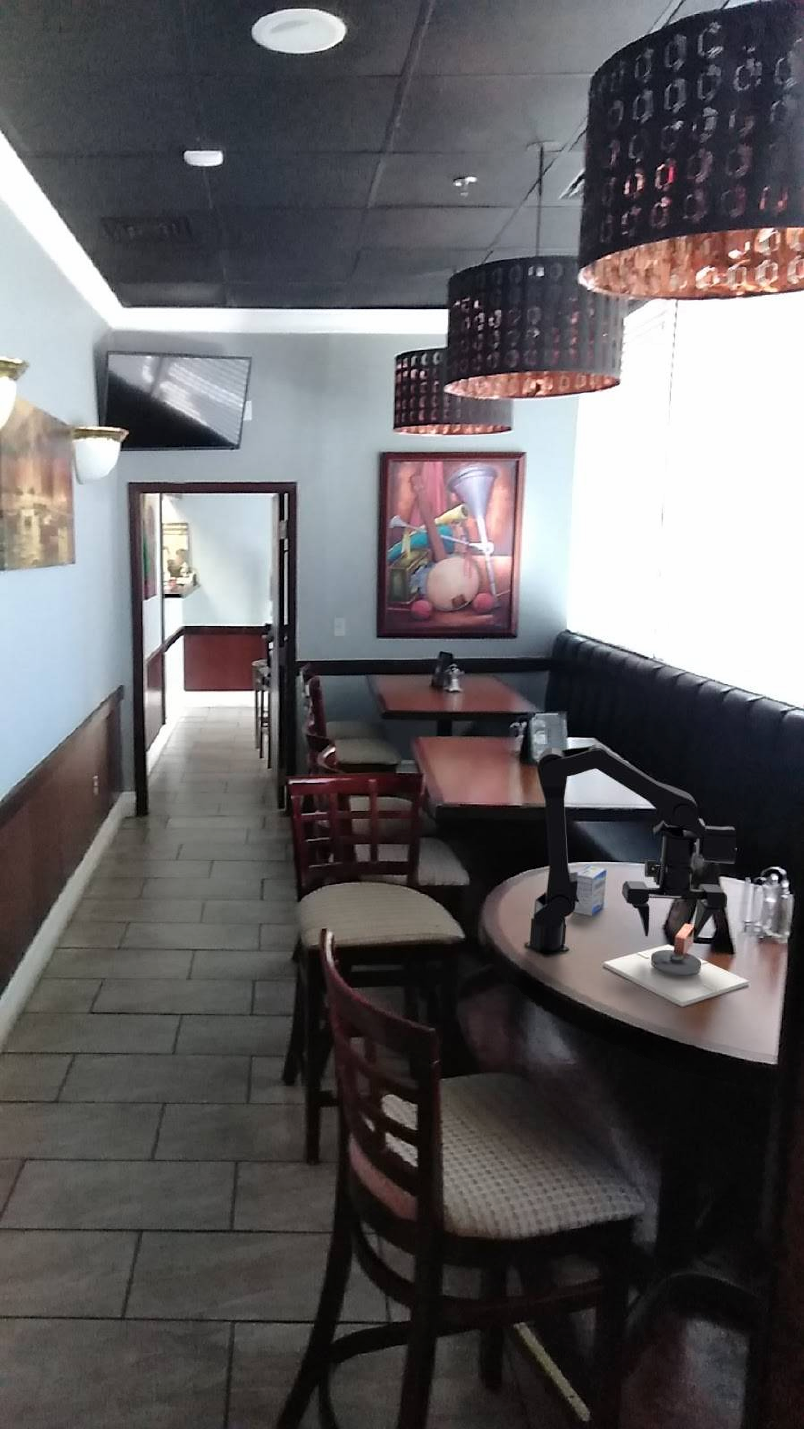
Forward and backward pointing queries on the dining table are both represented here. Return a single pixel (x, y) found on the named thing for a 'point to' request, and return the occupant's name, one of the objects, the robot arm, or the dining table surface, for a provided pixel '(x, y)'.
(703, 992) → the wheel board
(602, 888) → the medicine box
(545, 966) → the dining table surface
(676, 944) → the handwheel
